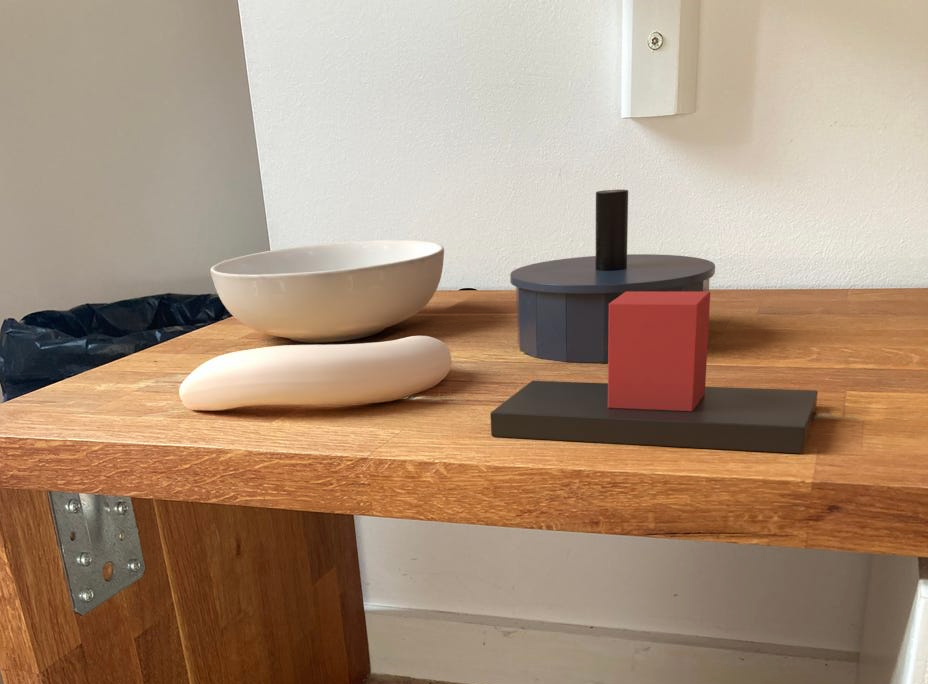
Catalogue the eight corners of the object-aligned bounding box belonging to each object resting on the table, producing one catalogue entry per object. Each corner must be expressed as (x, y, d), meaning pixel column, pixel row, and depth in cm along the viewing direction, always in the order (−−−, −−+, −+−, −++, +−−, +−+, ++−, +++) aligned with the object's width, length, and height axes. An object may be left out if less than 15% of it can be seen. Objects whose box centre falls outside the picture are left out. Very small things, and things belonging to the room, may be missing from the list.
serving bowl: (300, 310, 108) (292, 240, 104) (483, 314, 99) (480, 238, 96) (174, 353, 91) (159, 272, 88) (381, 362, 83) (373, 272, 79)
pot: (718, 331, 85) (722, 261, 83) (684, 372, 73) (688, 292, 71) (550, 329, 91) (549, 263, 88) (493, 366, 79) (490, 292, 76)
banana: (163, 427, 69) (217, 376, 82) (446, 426, 68) (455, 376, 81) (152, 352, 66) (209, 313, 79) (445, 351, 65) (455, 311, 78)
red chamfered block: (705, 394, 62) (710, 291, 59) (692, 412, 59) (698, 303, 56) (623, 391, 64) (625, 291, 61) (607, 408, 61) (608, 303, 58)
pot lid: (729, 268, 83) (734, 178, 80) (694, 303, 71) (699, 197, 68) (545, 270, 89) (543, 185, 86) (481, 302, 76) (477, 204, 73)
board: (815, 414, 62) (818, 390, 61) (802, 454, 56) (805, 427, 55) (532, 402, 69) (531, 380, 68) (490, 436, 62) (489, 412, 61)
